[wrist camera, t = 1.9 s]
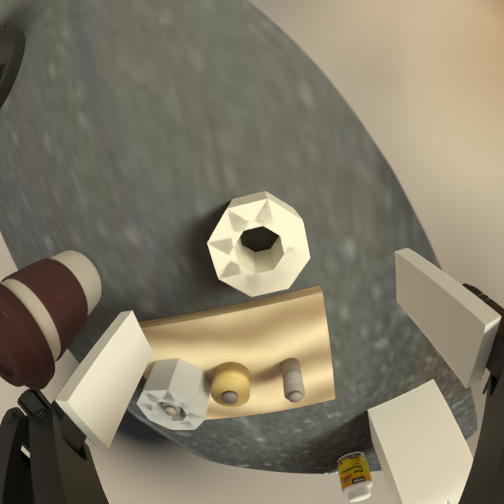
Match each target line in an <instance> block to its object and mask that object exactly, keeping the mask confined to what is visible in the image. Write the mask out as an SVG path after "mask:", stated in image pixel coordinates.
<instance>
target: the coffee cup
mask: <svg viewBox="0 0 504 504" xmlns="http://www.w3.org/2000/svg"><path fill="white" fill-rule="evenodd" d="M101 293H102V285H101V280H100V276H99V274H98V272H97V270H96V268H95V266H94V265H93V264H92V262H91V261H90V260H89V259H88V258H87V257H86V256H84V255H83V254H81V253H79V252H76V251H72V250H69V251H64V252H61V253H59V254H57V255H55V256H53V257H51V258H46V259H42V260H39V261H37V262H35V263H33V264H31V265H29V266H27V267H25V268H23V269H21V270H19V271H17V272H15V273H13V274H11V275H9V276H7V277H5V278H4V279H3V280H2V281H1V283H0V376H1V377H2V378H3V379H4V380H5V381H7V382H8V383H10V384H12V385H14V386H17V387H20V386H23V385H25V386H27V387H29V388H33V387H37V388H38V389H39V390H40V389H43V388H45V387H46V386H47V384H48V383H49V382H50V380H51V379H52V378H53V376H54V373H55V362H56V361H58V360H59V359H60V358H61V357H62V355H63V354H64V352H65V351H66V349H67V348H68V346H69V345H70V344H71V342H72V341H73V339H74V338H75V336H76V335H77V334H78V332H79V331H80V329H81V328H82V327H83V325H84V324H85V322H86V320H87V317H88V315H89V314H90V313H91V311H92V310H93V309H94V308H95V306H96V305H97V304H98V302H99V300H100V297H101Z"/></svg>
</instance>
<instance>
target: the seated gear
mask: <svg viewBox="0 0 504 504" xmlns="http://www.w3.org/2000/svg"><path fill="white" fill-rule="evenodd" d="M210 391H211V385H210V383H209V381H208V379H207V377H206V375H205V373H204V371H203V369H201V368H199V367H197V366H195V365H192V364H190V363H188V362H186V361H184V360H182V359H180V358H174V359H165V360H156V362H155V364H154V366H153V368H152V370H151V372H150V374H149V376H148V378H147V381H146V383H145V385H144V387H143V390H142V392H141V394H140V397H139V399H138V402H137V405H138V406H139V407H140V409H141V410H142V411H143V413H144V414H145V415H146V416H147V418H148V419H149V420H151V421H153V422H155V423H158V424H160V425H162V426H164V427H167V428H169V429H171V430H195V429H196V428H197V427H198V426H199V425H200V424H201V423H202V422H203V421H204V420H205V419H206V414H207V408H208V402H209V396H210ZM163 402H171V403H173V404H175V405H177V406H180V407H181V410H180V412H179V413H178V414H175V415H174V416H170V415H167V414H166V413H165V412H164V411H165V410H164V409H163V408H162V405H163Z"/></svg>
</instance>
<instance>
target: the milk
mask: <svg viewBox="0 0 504 504" xmlns="http://www.w3.org/2000/svg"><path fill="white" fill-rule="evenodd" d="M367 411H368V418H369V425H370V432H371V440H372V444H373V446H374V449H375V451H376V454H377V457H378V460H379V462H380V465H381V468H382V471H383V473H384V476H385V479H386V482H387V484H388V487H389V490H390V493H391V496H392V499H393V502H394V504H458V502H459V500H460V498H461V495H462V492H463V490H464V487H465V484H466V482H467V479H468V476H469V473H470V470H471V466H472V463H473V457H472V455H471V453H470V451H469V448H468V446H467V444H466V442H465V439H464V437H463V435H462V433H461V431H460V429H459V427H458V425H457V423H456V421H455V419H454V417H453V415H452V413H451V411H450V409H449V407H448V405H447V403H446V401H445V399H444V397H443V396H442V394H441V392H440V390H439V388H438V386H437V385H436V383H435V381H434V379H432V380H431V381H429V382H427V383H425V384H423V385H421V386H419V387H417V388H415V389H413V390H411V391H409V392H407V393H405V394H403V395H401V396H399V397H396V398H394V399H392V400H390V401H387V402H385V403H383V404H380V405H378V406H376V407H373V408H371V409H368V410H367Z"/></svg>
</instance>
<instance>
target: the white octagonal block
mask: <svg viewBox="0 0 504 504" xmlns="http://www.w3.org/2000/svg"><path fill="white" fill-rule="evenodd" d="M260 226H264V227H266V228H268V229H270V230H271V231H273V232H275V233H276V234H278V235H279V236H278V238H277V239H276V241H275V242H274V244H273V246H272V247H271V249H267V250H262V251H258V252H254V251H252V250H251V249H249V248H247V247H245V246H244V245H242V243H241V239H240V236H241V234H242V233H243V231H244V230H248V229H252V228H256V227H260ZM207 244H208V248H209V251H210V254H211V257H212V260H213V263H214V267H215V270H216V273H217V276H218V279H219V280H221V281H223V282H225V283H227V284H229V285H230V286H232V287H234V288H236V289H238V290H240V291H242V292H244V293H245V294H247V295H249V296H251V297H253V296H258V295H262V294H267V293H271V292H275V291H280V290H284V289H288V288H289V287H290V286H291V284H292V283H293V282H294V280H295V279H296V277H297V276H298V275H299V273H300V272H301V270H302V269H303V267H304V266H305V265H306V263H307V262H308V260H309V259H310V255H309V249H308V244H307V239H306V234H305V229H304V224H303V220H302V219H301V217H300V216H299V215H298V214H297V212H296V211H295V210H294V208H292V207H291V206H289V205H287V204H286V203H284V202H282V201H281V200H279V199H278V198H276V197H274V196H273V195H271V194H269V193H268V192H266V191H263V192H259V193H255V194H251V195H247V196H243V197H239V198H235V199H232V201H231V202H230V204H229V206H228V207H227V209H226V211H225V213H224V214H223V216H222V218H221V220H220V221H219V223H218V225H217V227H216V228H215V230H214V232H213V234H212V235H211V237H210V239H209V241H208V242H207Z"/></svg>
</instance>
